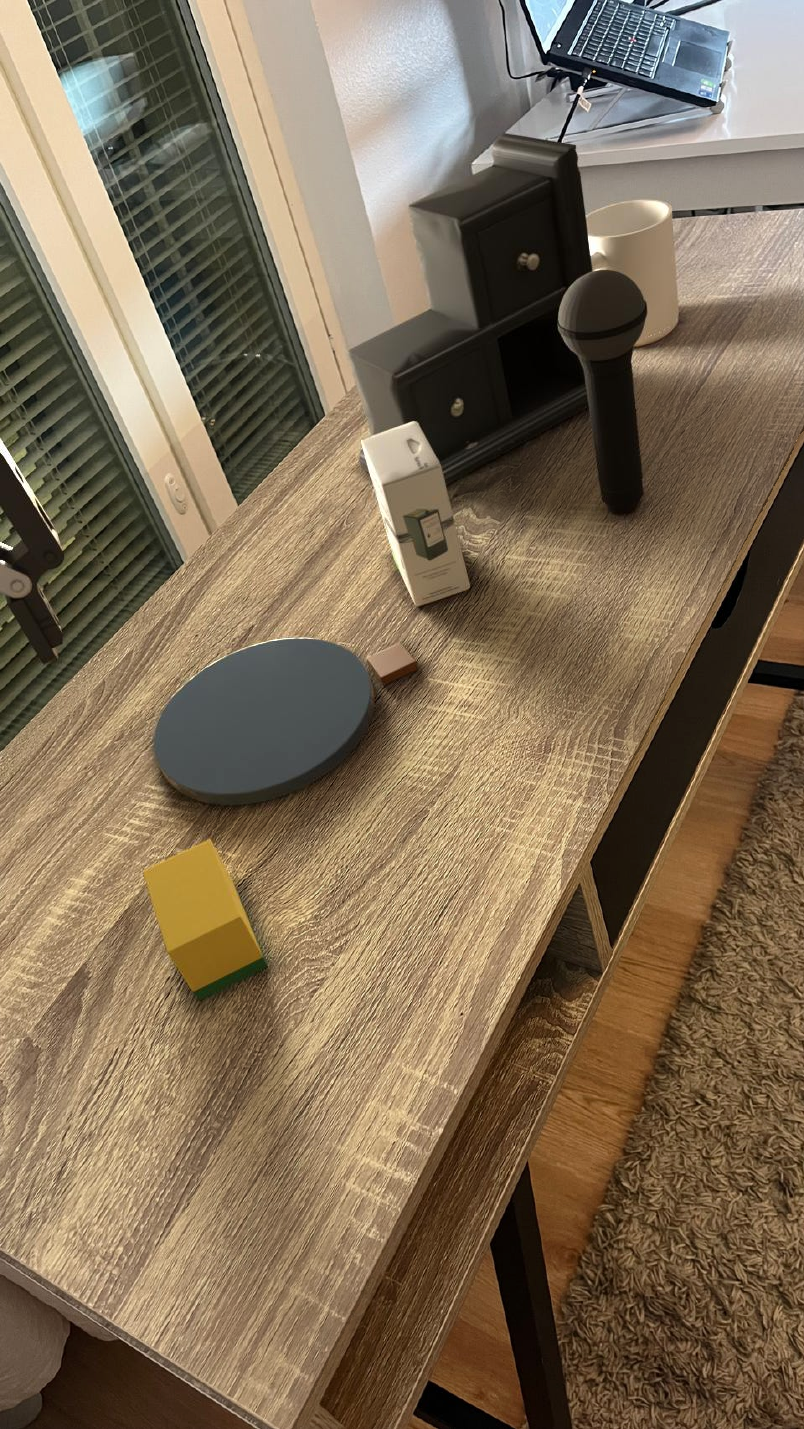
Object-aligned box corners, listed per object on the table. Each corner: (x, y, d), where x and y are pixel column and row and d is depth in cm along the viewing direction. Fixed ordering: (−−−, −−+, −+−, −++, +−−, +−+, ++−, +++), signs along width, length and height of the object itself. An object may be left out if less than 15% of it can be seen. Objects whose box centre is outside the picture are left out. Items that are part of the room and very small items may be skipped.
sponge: (199, 1001, 63) (167, 952, 60) (172, 920, 69) (142, 871, 65) (268, 966, 64) (240, 916, 61) (237, 888, 69) (210, 838, 66)
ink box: (391, 556, 94) (356, 436, 86) (445, 538, 94) (414, 416, 86) (415, 609, 87) (379, 483, 79) (472, 589, 87) (443, 462, 80)
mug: (693, 310, 115) (686, 197, 107) (649, 364, 109) (638, 248, 101) (611, 309, 120) (599, 201, 112) (564, 360, 114) (548, 249, 106)
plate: (188, 842, 73) (181, 831, 73) (139, 707, 86) (133, 696, 85) (410, 737, 76) (406, 725, 75) (330, 621, 89) (326, 610, 88)
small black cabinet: (414, 505, 99) (347, 249, 84) (358, 468, 107) (287, 227, 92) (611, 399, 105) (582, 142, 90) (545, 371, 113) (507, 130, 97)
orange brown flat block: (383, 685, 81) (380, 677, 80) (368, 665, 83) (365, 657, 83) (418, 669, 81) (416, 661, 81) (403, 649, 84) (400, 641, 83)
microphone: (614, 480, 94) (586, 251, 81) (679, 495, 90) (661, 257, 77) (569, 519, 91) (533, 289, 78) (634, 537, 87) (608, 297, 74)
